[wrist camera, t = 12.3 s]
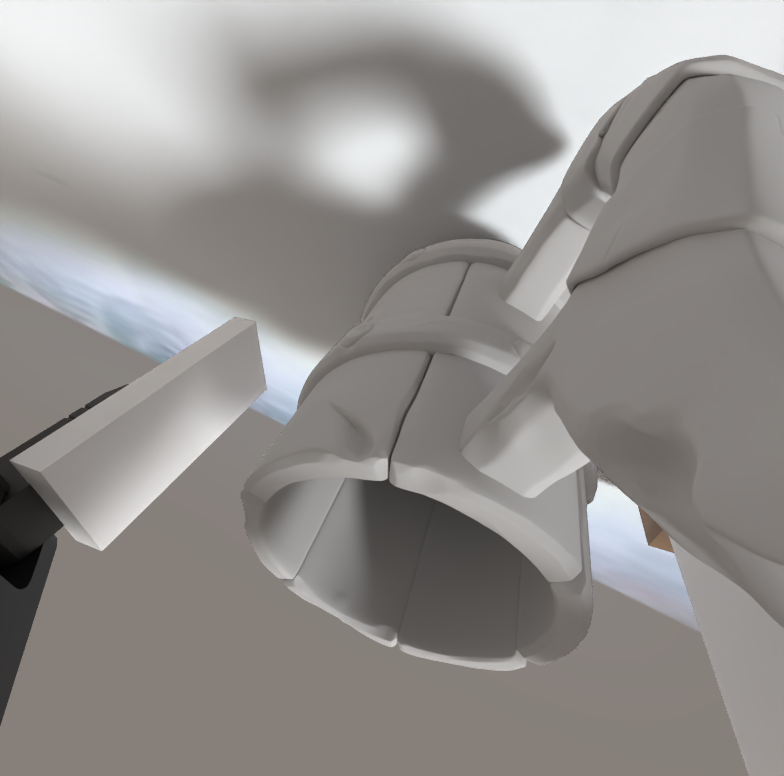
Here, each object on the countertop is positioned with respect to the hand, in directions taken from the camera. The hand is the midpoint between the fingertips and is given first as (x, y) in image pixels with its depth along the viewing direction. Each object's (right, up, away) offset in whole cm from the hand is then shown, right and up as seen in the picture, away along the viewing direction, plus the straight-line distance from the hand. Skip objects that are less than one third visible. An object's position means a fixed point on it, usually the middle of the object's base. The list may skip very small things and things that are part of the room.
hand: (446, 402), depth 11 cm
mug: (+2, +4, +2) cm, 5 cm away
